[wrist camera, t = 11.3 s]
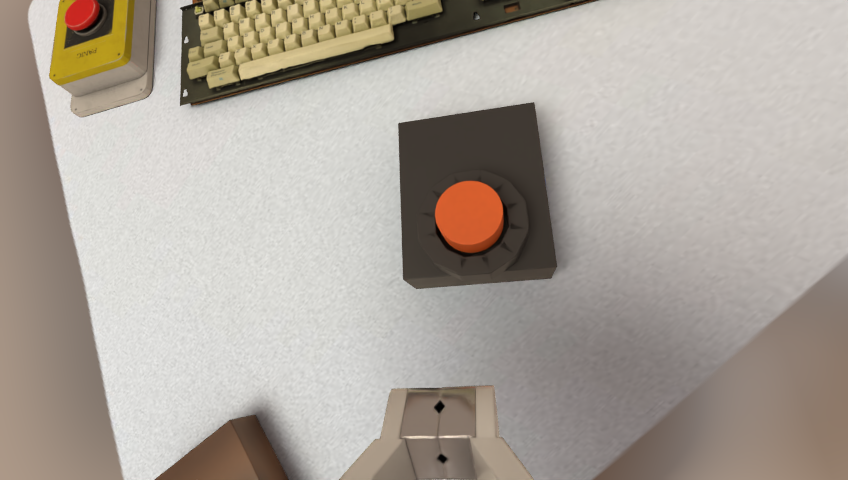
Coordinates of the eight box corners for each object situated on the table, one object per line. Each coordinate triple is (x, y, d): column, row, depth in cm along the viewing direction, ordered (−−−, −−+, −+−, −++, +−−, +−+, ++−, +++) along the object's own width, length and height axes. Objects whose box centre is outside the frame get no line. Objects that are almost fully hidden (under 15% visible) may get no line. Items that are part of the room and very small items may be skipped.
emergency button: (122, -50, 43) (113, 68, 39) (156, -15, 47) (151, 96, 43) (47, -23, 45) (30, 94, 40) (87, 9, 49) (75, 119, 44)
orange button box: (552, 284, 30) (561, 267, 24) (416, 294, 32) (395, 281, 26) (531, 130, 33) (535, 84, 28) (410, 148, 35) (390, 107, 29)
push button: (506, 249, 26) (506, 241, 24) (442, 256, 26) (436, 247, 24) (500, 189, 27) (499, 176, 25) (438, 196, 27) (433, 184, 25)
